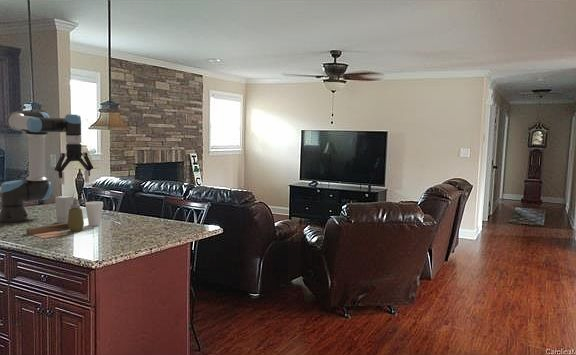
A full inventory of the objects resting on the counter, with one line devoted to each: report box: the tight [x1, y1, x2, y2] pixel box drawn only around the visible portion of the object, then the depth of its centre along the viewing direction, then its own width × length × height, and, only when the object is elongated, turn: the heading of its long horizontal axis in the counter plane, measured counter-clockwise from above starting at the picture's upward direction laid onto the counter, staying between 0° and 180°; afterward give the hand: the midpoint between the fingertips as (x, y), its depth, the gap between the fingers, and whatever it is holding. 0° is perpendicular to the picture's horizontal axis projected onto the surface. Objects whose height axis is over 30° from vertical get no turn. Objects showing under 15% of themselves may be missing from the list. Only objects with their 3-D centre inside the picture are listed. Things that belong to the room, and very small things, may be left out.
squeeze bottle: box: [68, 197, 85, 233], centre depth 255 cm, size 8×8×18 cm
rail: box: [26, 223, 70, 240], centre depth 252 cm, size 16×28×3 cm, turn 142°
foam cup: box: [84, 201, 104, 227], centre depth 272 cm, size 10×9×13 cm
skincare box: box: [54, 195, 74, 224], centre depth 276 cm, size 8×7×16 cm
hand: (74, 183), depth 253 cm, fingers open, 13 cm apart
